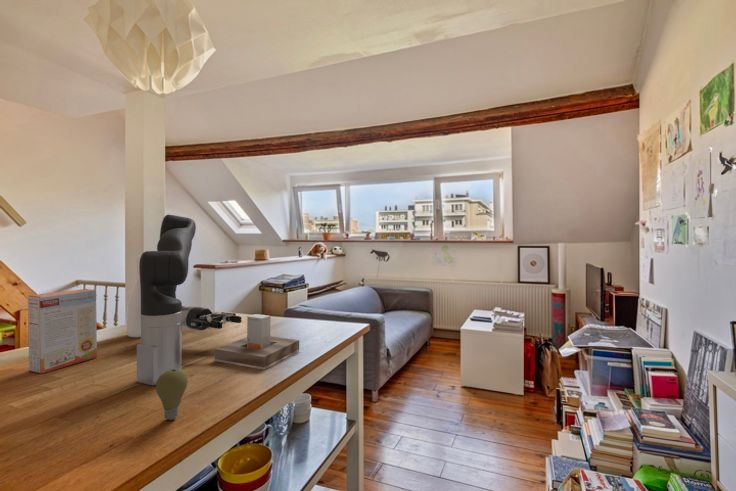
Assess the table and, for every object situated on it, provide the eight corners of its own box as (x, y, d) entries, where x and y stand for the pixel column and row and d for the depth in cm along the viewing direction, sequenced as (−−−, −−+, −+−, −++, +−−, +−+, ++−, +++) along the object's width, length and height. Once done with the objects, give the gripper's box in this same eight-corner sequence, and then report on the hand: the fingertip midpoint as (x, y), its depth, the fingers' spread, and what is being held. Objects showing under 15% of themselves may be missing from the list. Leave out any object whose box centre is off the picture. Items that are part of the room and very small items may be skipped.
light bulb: (192, 412, 72) (192, 365, 72) (178, 426, 67) (178, 375, 67) (165, 412, 72) (165, 365, 72) (149, 426, 67) (149, 375, 66)
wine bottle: (120, 337, 126) (120, 256, 125) (138, 331, 135) (138, 254, 135) (145, 338, 125) (146, 256, 125) (162, 331, 135) (162, 255, 134)
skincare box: (246, 354, 107) (246, 316, 107) (256, 350, 111) (256, 313, 111) (261, 357, 105) (261, 318, 105) (270, 353, 109) (271, 315, 109)
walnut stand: (264, 369, 96) (264, 357, 96) (214, 360, 103) (214, 348, 103) (299, 350, 113) (299, 340, 113) (254, 344, 120) (255, 334, 120)
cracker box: (84, 355, 106) (84, 288, 106) (97, 358, 104) (97, 289, 104) (26, 371, 93) (26, 294, 93) (40, 374, 91) (40, 296, 91)
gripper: (176, 310, 111) (214, 315, 105) (210, 303, 125) (246, 307, 119) (176, 333, 111) (214, 339, 105) (210, 324, 125) (246, 328, 119)
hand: (231, 322), depth 112 cm, fingers open, 8 cm apart
